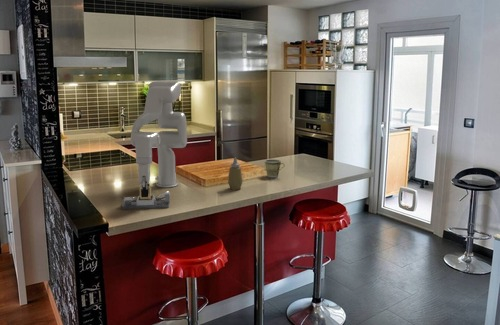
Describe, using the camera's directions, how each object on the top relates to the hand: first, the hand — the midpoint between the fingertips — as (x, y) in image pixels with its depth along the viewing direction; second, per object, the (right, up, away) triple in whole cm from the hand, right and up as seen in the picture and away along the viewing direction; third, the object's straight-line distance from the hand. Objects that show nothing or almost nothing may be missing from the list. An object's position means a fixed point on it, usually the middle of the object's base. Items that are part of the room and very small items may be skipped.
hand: (145, 194), depth 213 cm
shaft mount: (0, -6, +1) cm, 6 cm away
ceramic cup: (+67, +6, +63) cm, 92 cm away
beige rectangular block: (0, -4, +1) cm, 4 cm away
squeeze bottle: (+43, +1, +34) cm, 55 cm away
